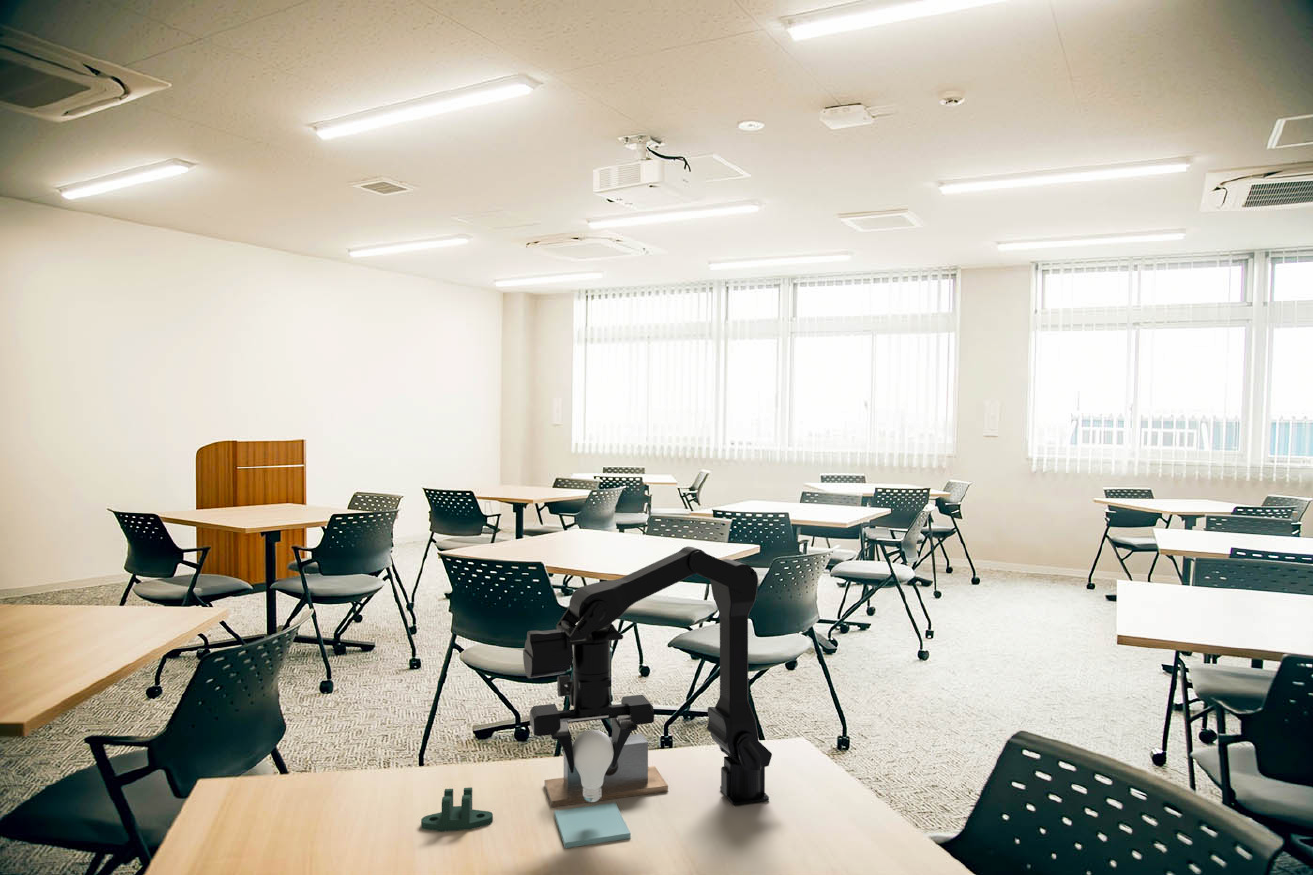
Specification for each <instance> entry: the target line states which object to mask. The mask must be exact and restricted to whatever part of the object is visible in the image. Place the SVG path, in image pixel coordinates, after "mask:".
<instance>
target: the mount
mask: <svg viewBox="0 0 1313 875" xmlns="http://www.w3.org/2000/svg"><path fill="white" fill-rule="evenodd" d="M443 792H444V793H443V796H442V798H441V811H440V812H436V813H433V814H428V815H424V816H423V817H422V818H421V819H420V822H421V823H420V828H421V829H423V830H426V831H434V832H439V833H440V832H457V831H470V830H474V829H478V828H483V827H486V826H489V825H491V824H492V823H493V822H494V817H493V816H494V814H493V812H491V811H488V810H479V809H473V787H471V786H470V787H464V788H463V795H461V802H460V804H461V805H455V806H454V788H445V789H444V791H443Z"/></svg>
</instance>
